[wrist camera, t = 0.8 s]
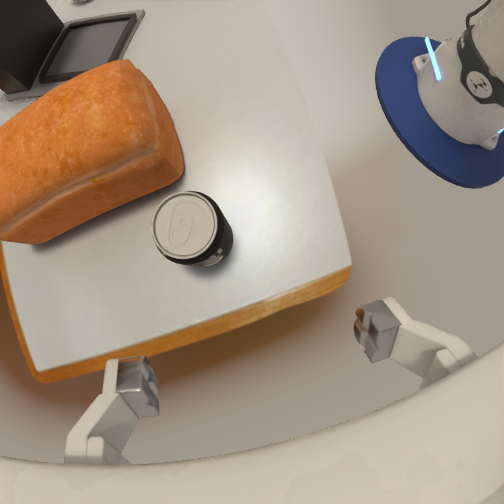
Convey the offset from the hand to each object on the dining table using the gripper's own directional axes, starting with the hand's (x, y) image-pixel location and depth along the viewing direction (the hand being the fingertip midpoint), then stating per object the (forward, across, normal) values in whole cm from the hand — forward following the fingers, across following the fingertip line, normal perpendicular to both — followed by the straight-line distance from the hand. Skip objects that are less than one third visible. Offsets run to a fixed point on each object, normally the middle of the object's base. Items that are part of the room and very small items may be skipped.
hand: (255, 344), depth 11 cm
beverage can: (+26, +1, +9) cm, 28 cm away
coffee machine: (+51, +20, -21) cm, 59 cm away
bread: (+35, +15, 0) cm, 38 cm away
